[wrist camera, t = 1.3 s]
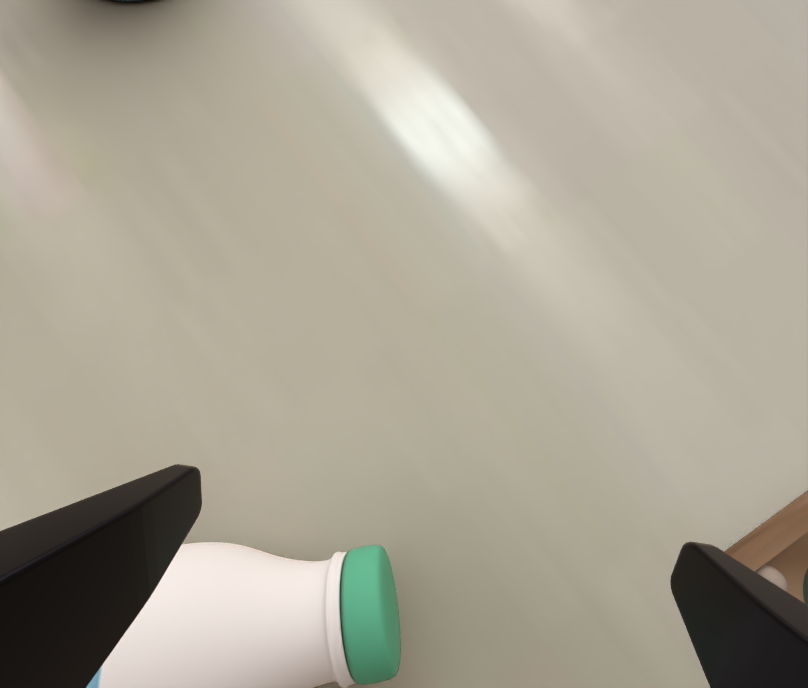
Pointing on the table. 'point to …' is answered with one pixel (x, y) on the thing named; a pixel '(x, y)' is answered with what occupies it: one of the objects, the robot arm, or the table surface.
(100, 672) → the milk bottle
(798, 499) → the double tray
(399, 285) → the table surface
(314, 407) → the table surface
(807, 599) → the bottle
